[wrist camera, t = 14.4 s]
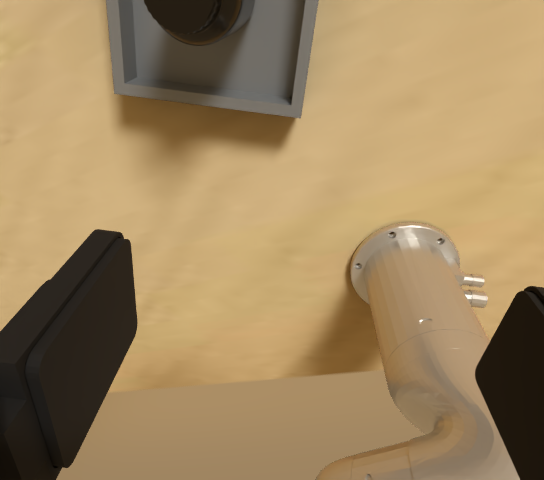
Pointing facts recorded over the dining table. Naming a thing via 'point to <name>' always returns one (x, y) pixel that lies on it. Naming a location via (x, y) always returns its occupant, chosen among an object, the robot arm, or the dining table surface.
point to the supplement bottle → (200, 18)
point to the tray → (216, 59)
